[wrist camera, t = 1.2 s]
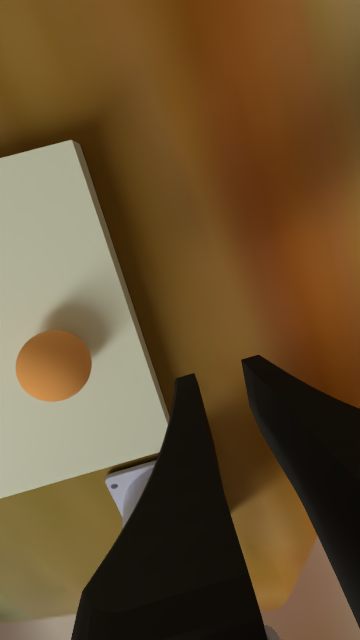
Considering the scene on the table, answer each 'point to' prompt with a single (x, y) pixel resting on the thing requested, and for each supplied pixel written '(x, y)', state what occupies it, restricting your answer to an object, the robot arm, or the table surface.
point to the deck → (68, 327)
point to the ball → (53, 365)
